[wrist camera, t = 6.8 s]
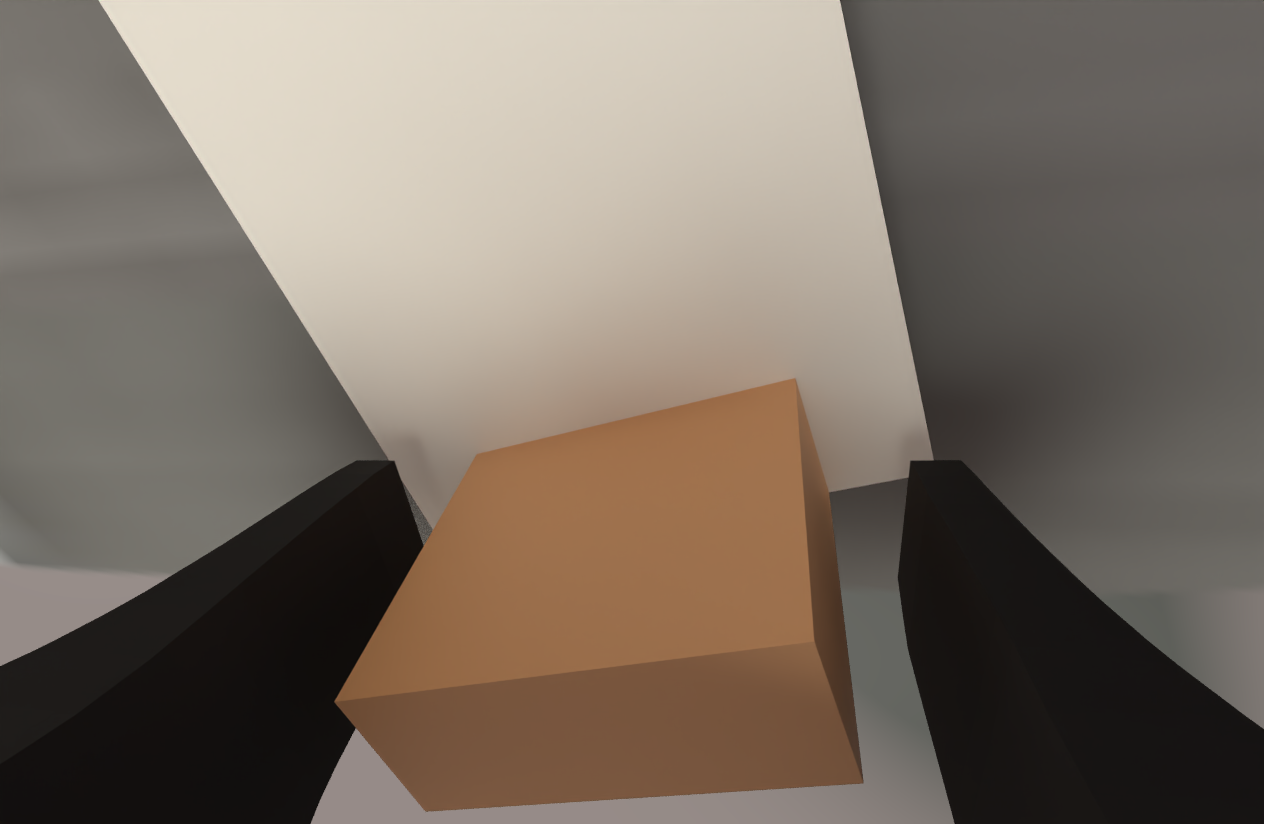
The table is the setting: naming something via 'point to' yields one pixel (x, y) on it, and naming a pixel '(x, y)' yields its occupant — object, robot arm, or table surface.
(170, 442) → the table surface
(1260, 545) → the table surface
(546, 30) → the cream slab with block
